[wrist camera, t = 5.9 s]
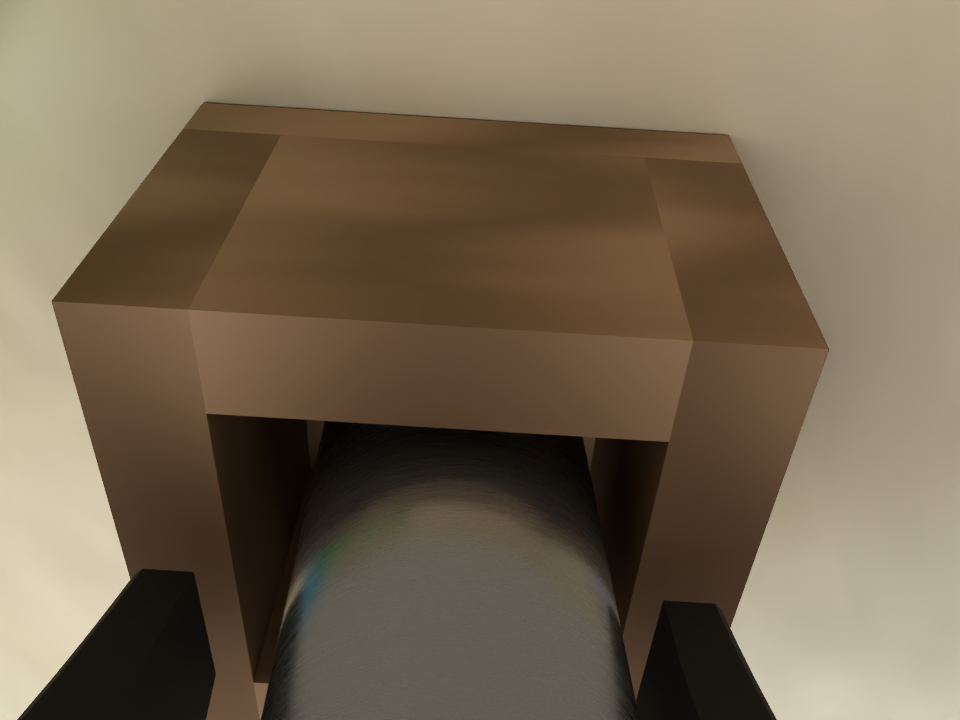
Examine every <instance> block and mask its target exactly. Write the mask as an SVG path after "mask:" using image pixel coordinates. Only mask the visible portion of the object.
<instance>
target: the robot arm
mask: <svg viewBox="0 0 960 720" xmlns="http://www.w3.org/2000/svg"><path fill="white" fill-rule="evenodd" d="M215 676H216V672H215V667H214V662H213V658H212V653H211V649H210V644H209V639H208V635H207V630H206V626H205V621H204V616H203V612H202V607H201V602H200V598H199V593H198V589H197V584H196V579H195V575H194V572H190V571H173V570H157V569H141V570H140V571H139V572H137V573H136V574H135V575H134V576H133V577H132V579H131V580H130V581H129V582H128V584H127V585H126V586H125V588H124V589H123V590H122V592H121V593H120V594H119V596H118V597H117V598H116V599H115V601H114V602H113V603H112V605H111V606H110V607H109V608H108V610H107V611H106V612H105V614H104V615H103V616H102V618H101V619H100V620H99V621H98V623H97V624H96V625H95V626H94V628H93V629H92V630H91V632H90V633H89V634H88V635H87V637H86V638H85V639H84V640H83V642H82V643H81V644H80V645H79V647H78V648H77V649H76V650H75V651H74V653H73V654H72V655H71V656H70V658H69V659H68V660H67V661H66V662H65V664H64V665H63V666H62V667H61V669H60V670H59V671H58V672H57V674H56V675H55V676H54V677H53V678H52V680H51V681H50V682H49V683H48V684H47V685H46V687H45V688H44V689H43V690H42V691H41V692H40V694H39V695H38V696H37V697H36V698H35V699H34V701H33V702H32V703H31V704H30V705H29V707H28V708H27V709H26V710H25V711H24V712H23V714H22V715H21V716H20V717H19V718H18V719H17V720H206V718H207V713H208V708H209V704H210V699H211V695H212V690H213V686H214V681H215ZM636 705H637V710H638V715H639V720H776V718H775V716H774V714H773V712H772V710H771V708H770V706H769V705H768V703H767V701H766V699H765V697H764V695H763V693H762V691H761V689H760V688H759V686H758V684H757V682H756V680H755V678H754V676H753V674H752V672H751V670H750V668H749V666H748V664H747V662H746V660H745V658H744V656H743V654H742V652H741V650H740V648H739V646H738V644H737V642H736V640H735V638H734V635H733V633H732V631H731V629H730V627H729V625H728V623H727V621H726V618H725V616H724V614H723V612H722V610H721V609H720V608H719V607H718V606H717V605H716V604H714V603H698V602H682V601H665V600H663V603H662V607H661V611H660V614H659V618H658V622H657V625H656V629H655V632H654V636H653V640H652V643H651V647H650V651H649V654H648V658H647V662H646V665H645V669H644V673H643V676H642V680H641V684H640V687H639V691H638V694H637V698H636Z"/></svg>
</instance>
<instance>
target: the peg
mask: <svg viewBox="0 0 960 720" xmlns="http://www.w3.org/2000/svg"><path fill="white" fill-rule="evenodd" d="M261 720H639V715H638V710H637V705H636V700H635V695H634V690H633V685H632V680H631V675H630V670H629V665H628V660H627V655H626V650H625V645H624V640H623V635H622V630H621V625H620V620H619V615H618V610H617V605H616V600H615V595H614V590H613V585H612V580H611V575H610V570H609V565H608V560H607V555H606V550H605V545H604V540H603V535H602V530H601V525H600V520H599V515H598V510H597V505H596V500H595V495H594V490H593V485H592V480H591V476H590V471H589V466H588V461H587V456H586V451H585V446H584V441H583V437H580V436H564V435H547V434H531V433H515V432H498V431H482V430H466V429H450V428H433V427H417V426H401V425H385V424H368V423H352V422H336V421H325V422H324V427H323V431H322V436H321V441H320V445H319V450H318V455H317V460H316V464H315V469H314V474H313V478H312V483H311V488H310V492H309V497H308V502H307V506H306V511H305V516H304V520H303V525H302V530H301V534H300V539H299V544H298V548H297V553H296V558H295V562H294V567H293V572H292V576H291V581H290V586H289V590H288V595H287V600H286V604H285V609H284V614H283V618H282V623H281V628H280V632H279V637H278V642H277V646H276V651H275V656H274V660H273V665H272V670H271V674H270V679H269V684H268V688H267V693H266V698H265V702H264V707H263V712H262V716H261Z"/></svg>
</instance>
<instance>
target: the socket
mask: <svg viewBox="0 0 960 720" xmlns="http://www.w3.org/2000/svg"><path fill="white" fill-rule="evenodd" d="M52 305H53V308H54V312H55V315H56V319H57V322H58V326H59V329H60V333H61V336H62V340H63V343H64V347H65V350H66V354H67V357H68V361H69V364H70V368H71V371H72V375H73V378H74V382H75V386H76V389H77V393H78V396H79V400H80V403H81V407H82V410H83V414H84V417H85V421H86V424H87V428H88V431H89V435H90V438H91V442H92V445H93V449H94V452H95V456H96V459H97V463H98V466H99V470H100V473H101V477H102V481H103V484H104V488H105V491H106V495H107V498H108V502H109V505H110V509H111V512H112V516H113V519H114V523H115V526H116V530H117V533H118V537H119V540H120V544H121V547H122V551H123V554H124V558H125V561H126V565H127V568H128V572H129V576H130V579H132V577H133V576H134V575H135V574H136V573H137V572H139V571H140V570H141V569H157V570H173V571H190V572H194V575H195V579H196V584H197V589H198V593H199V598H200V602H201V607H202V612H203V616H204V621H205V626H206V630H207V635H208V639H209V644H210V649H211V653H212V658H213V662H214V667H215V672H216V676H215V681H214V686H213V690H212V695H211V699H210V704H209V708H208V713H207V718H206V720H261V716H262V712H263V707H264V702H265V698H266V693H267V688H268V684H269V679H270V674H271V670H272V665H273V660H274V656H275V651H276V646H277V642H278V637H279V632H280V628H281V623H282V618H283V614H284V609H285V604H286V600H287V595H288V590H289V586H290V581H291V576H292V572H293V567H294V562H295V558H296V553H297V548H298V544H299V539H300V534H301V530H302V525H303V520H304V516H305V511H306V506H307V502H308V497H309V492H310V488H311V483H312V478H313V474H314V469H315V464H316V460H317V455H318V450H319V445H320V441H321V436H322V431H323V427H324V422H325V421H336V422H352V423H368V424H385V425H401V426H417V427H433V428H450V429H466V430H482V431H498V432H515V433H531V434H547V435H564V436H580V437H583V441H584V446H585V451H586V456H587V461H588V466H589V471H590V476H591V480H592V485H593V490H594V495H595V500H596V505H597V510H598V515H599V520H600V525H601V530H602V535H603V540H604V545H605V550H606V555H607V560H608V565H609V570H610V575H611V580H612V585H613V590H614V595H615V600H616V605H617V610H618V615H619V620H620V625H621V630H622V635H623V640H624V645H625V650H626V655H627V660H628V665H629V670H630V675H631V680H632V685H633V690H634V695H635V700H636V698H637V694H638V691H639V687H640V684H641V680H642V676H643V673H644V669H645V665H646V662H647V658H648V654H649V651H650V647H651V643H652V640H653V636H654V632H655V629H656V625H657V622H658V618H659V614H660V611H661V607H662V603H663V600H665V601H682V602H698V603H714V604H716V605H717V606H718V607H719V608H720V609H721V610H722V612H723V614H724V616H725V618H726V621H727V623H728V625H729V627H731V624H732V621H733V618H734V616H735V613H736V610H737V607H738V604H739V601H740V599H741V596H742V593H743V590H744V587H745V585H746V582H747V579H748V576H749V573H750V570H751V568H752V565H753V562H754V559H755V556H756V554H757V551H758V548H759V545H760V542H761V540H762V537H763V534H764V531H765V528H766V525H767V523H768V520H769V517H770V514H771V511H772V509H773V506H774V503H775V500H776V497H777V494H778V492H779V489H780V486H781V483H782V480H783V478H784V475H785V472H786V469H787V466H788V464H789V461H790V458H791V455H792V452H793V449H794V447H795V444H796V441H797V438H798V435H799V433H800V430H801V427H802V424H803V421H804V418H805V416H806V413H807V410H808V407H809V404H810V402H811V399H812V396H813V393H814V390H815V388H816V385H817V382H818V379H819V376H820V373H821V371H822V368H823V365H824V362H825V359H826V357H827V354H828V351H829V348H828V346H827V344H826V342H825V339H824V337H823V335H822V333H821V331H820V329H819V327H818V325H817V322H816V320H815V318H814V316H813V314H812V312H811V310H810V308H809V305H808V303H807V301H806V299H805V297H804V295H803V293H802V291H801V288H800V286H799V284H798V282H797V280H796V278H795V276H794V274H793V271H792V269H791V267H790V265H789V263H788V261H787V259H786V256H785V254H784V252H783V250H782V248H781V246H780V244H779V242H778V239H777V237H776V235H775V233H774V231H773V229H772V227H771V225H770V222H769V220H768V218H767V216H766V214H765V212H764V210H763V208H762V205H761V203H760V201H759V199H758V197H757V195H756V193H755V190H754V188H753V186H752V184H751V182H750V180H749V178H748V176H747V173H746V171H745V169H744V167H743V165H742V163H741V161H740V159H739V156H738V154H737V152H736V150H735V148H734V146H733V144H732V142H731V139H730V137H729V136H727V135H711V134H695V133H679V132H663V131H647V130H631V129H615V128H599V127H583V126H567V125H551V124H535V123H519V122H503V121H487V120H471V119H455V118H439V117H423V116H407V115H391V114H375V113H359V112H342V111H326V110H310V109H294V108H278V107H262V106H246V105H230V104H214V103H203V104H202V105H201V106H200V108H199V109H198V110H197V111H196V113H195V114H194V115H193V117H192V118H191V119H190V121H189V122H188V123H187V125H186V126H185V127H184V129H183V130H182V131H181V132H180V134H179V135H178V136H177V138H176V139H175V140H174V142H173V143H172V144H171V146H170V147H169V148H168V149H167V151H166V152H165V153H164V155H163V156H162V157H161V159H160V160H159V161H158V163H157V164H156V165H155V166H154V168H153V169H152V170H151V172H150V173H149V174H148V176H147V177H146V178H145V180H144V181H143V182H142V183H141V185H140V186H139V187H138V189H137V190H136V191H135V193H134V194H133V195H132V197H131V198H130V199H129V201H128V202H127V203H126V204H125V206H124V207H123V208H122V210H121V211H120V212H119V214H118V215H117V216H116V218H115V219H114V220H113V221H112V223H111V224H110V225H109V227H108V228H107V229H106V231H105V232H104V233H103V235H102V236H101V237H100V238H99V240H98V241H97V242H96V244H95V245H94V246H93V248H92V249H91V250H90V252H89V253H88V254H87V256H86V257H85V258H84V259H83V261H82V262H81V263H80V265H79V266H78V267H77V269H76V270H75V271H74V273H73V274H72V275H71V276H70V278H69V279H68V280H67V282H66V283H65V284H64V286H63V287H62V288H61V290H60V291H59V292H58V293H57V295H56V296H55V297H54V299H53V300H52Z"/></svg>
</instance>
